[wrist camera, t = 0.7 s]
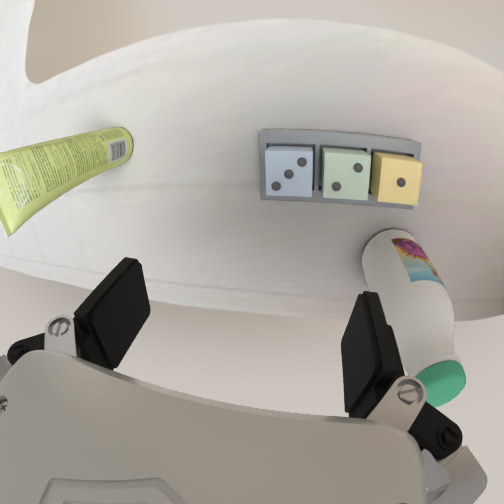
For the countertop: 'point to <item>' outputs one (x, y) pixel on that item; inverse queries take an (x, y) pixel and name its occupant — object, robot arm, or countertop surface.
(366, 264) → the milk bottle
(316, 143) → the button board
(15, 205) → the tube
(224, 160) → the countertop surface
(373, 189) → the single pip yellow cube
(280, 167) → the blue pip cube
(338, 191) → the pale green cube
